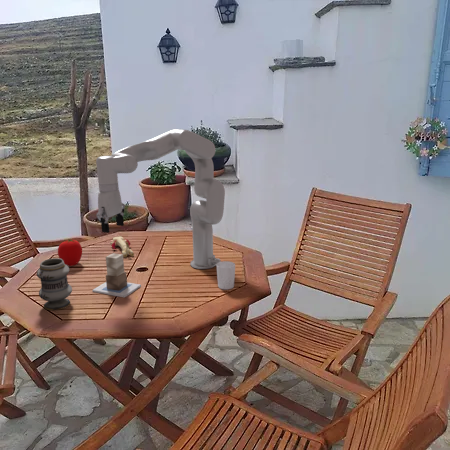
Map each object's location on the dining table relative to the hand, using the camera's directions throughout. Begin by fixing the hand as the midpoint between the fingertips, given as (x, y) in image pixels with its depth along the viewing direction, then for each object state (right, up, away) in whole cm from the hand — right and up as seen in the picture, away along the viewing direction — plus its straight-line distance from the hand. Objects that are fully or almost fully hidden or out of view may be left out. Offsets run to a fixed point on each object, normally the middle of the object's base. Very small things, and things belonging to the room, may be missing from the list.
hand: (113, 228), depth 179 cm
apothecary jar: (-20, -30, -7) cm, 37 cm away
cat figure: (-9, -12, +56) cm, 58 cm away
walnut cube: (0, -25, +7) cm, 26 cm away
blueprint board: (0, -26, +7) cm, 26 cm away
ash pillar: (0, -19, +5) cm, 20 cm away
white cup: (+46, -25, +8) cm, 53 cm away
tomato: (-29, -18, +35) cm, 49 cm away
